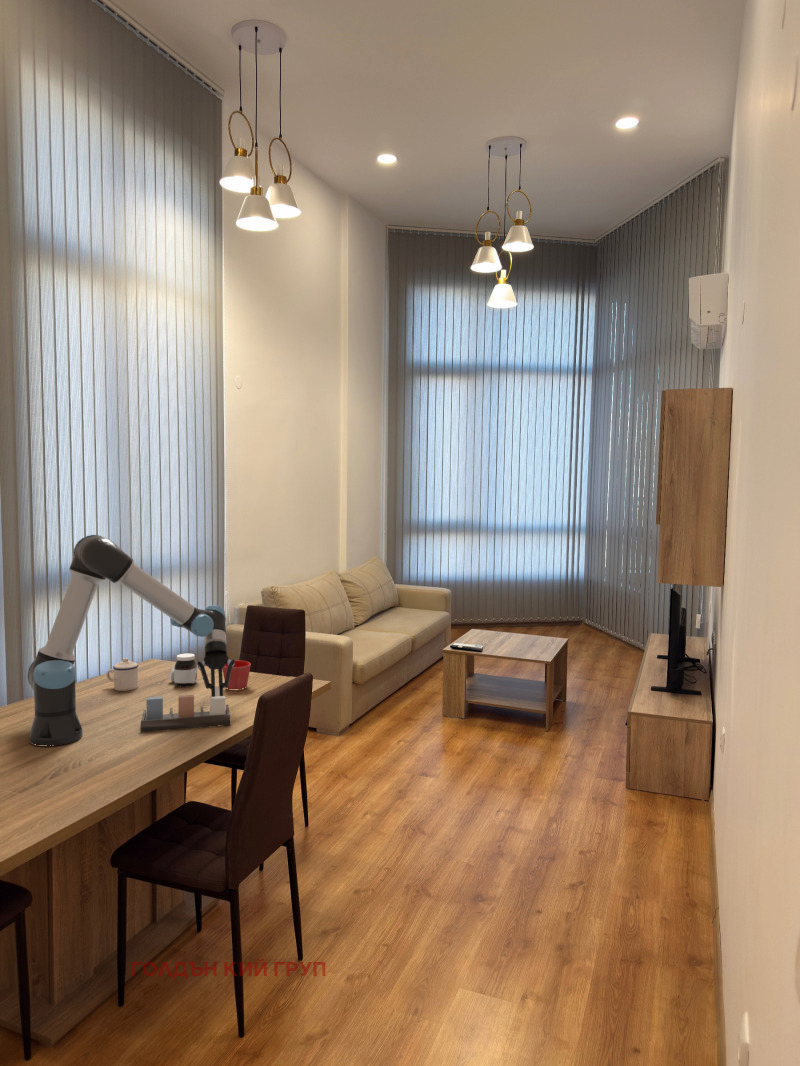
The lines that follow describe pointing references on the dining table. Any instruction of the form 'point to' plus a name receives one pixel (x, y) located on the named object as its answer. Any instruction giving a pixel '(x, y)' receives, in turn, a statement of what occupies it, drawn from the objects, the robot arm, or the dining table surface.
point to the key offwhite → (217, 705)
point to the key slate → (154, 708)
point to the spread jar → (184, 670)
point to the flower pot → (238, 674)
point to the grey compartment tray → (184, 721)
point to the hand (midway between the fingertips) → (217, 705)
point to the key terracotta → (186, 706)
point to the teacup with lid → (124, 675)
